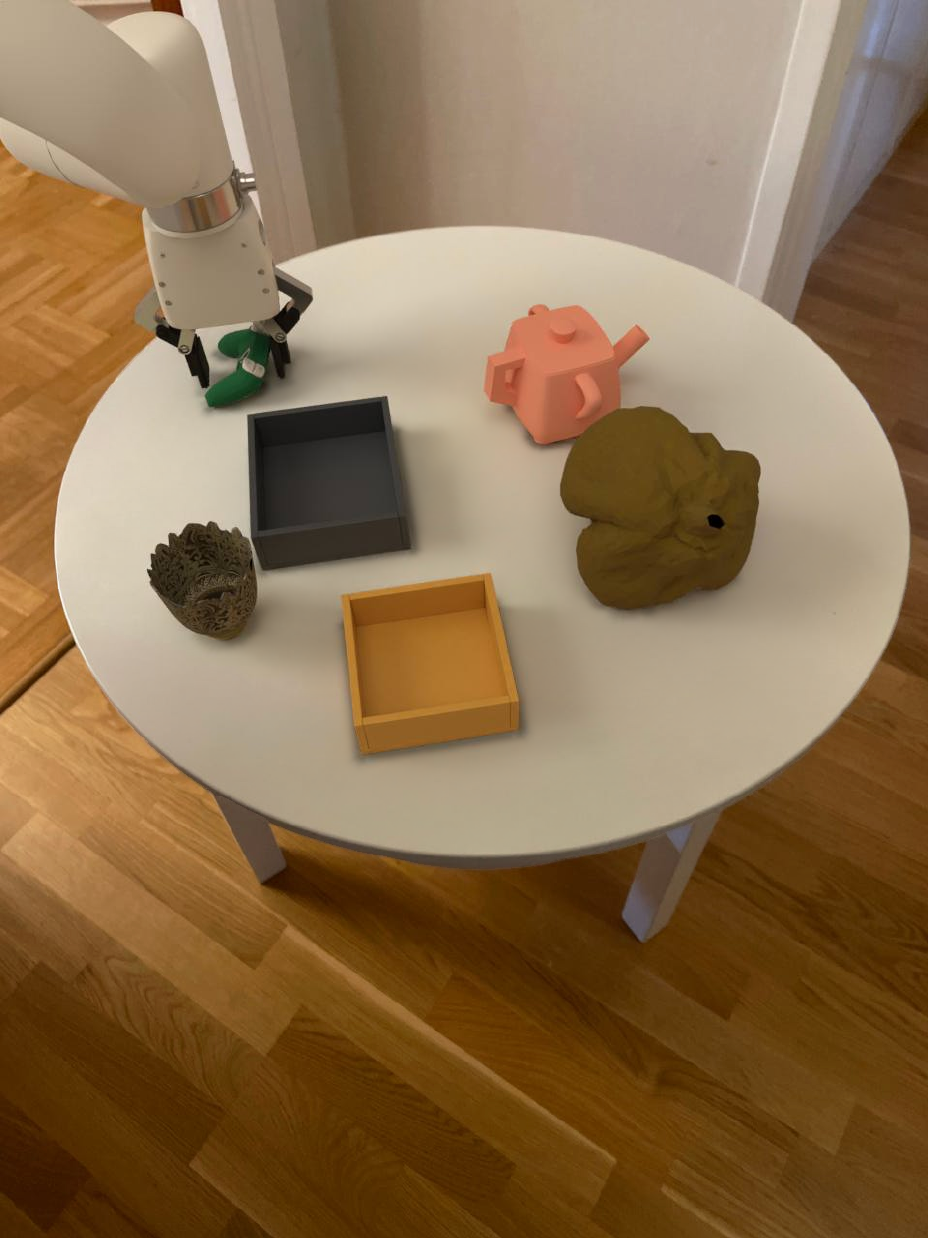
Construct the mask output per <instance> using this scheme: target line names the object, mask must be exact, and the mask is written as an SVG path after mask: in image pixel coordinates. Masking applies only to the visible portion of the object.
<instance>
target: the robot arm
mask: <svg viewBox="0 0 928 1238" xmlns="http://www.w3.org/2000/svg"><path fill="white" fill-rule="evenodd" d="M210 67H211V66H210V63H209V59H208V54H207V51H206V48H205V44H204V41H203V39H202V36H201V34H200V32H199V30H198V29H197V27H196V26H195V25H194V24H193V23H192V22H191V21H190V20H189V19H187V18H186V17H184V16H182V15H180V14H177V13H174V12H168V11H156V10H155V11H154V10H153V11H142V12H137V13H132V14H128V15H126V16H123V17H120V18H118V19H116V20H114V21H112V22H110V23H109V24H108V25H105V24H104V23H102V22H101V21H99V20H98V19H97V18H95V17H94V16H92V15H91V14H90V13H88V12H87V11H85V10H84V9H82V8H81V7H79V6H78V5H76V4H75V3H74V2H72V1H70V0H0V141H1V143H2V145H3V146H4V147H5V149H6V150H7V151H8V152H9V154H10V155H11V156H13V158H15V159H16V160H17V161H18V162H19V163H21V164H23V165H24V166H25V167H26V168H28V169H30V170H32V171H35V172H37V173H38V174H41V175H43V176H45V177H48V178H52V179H55V180H59V181H62V182H64V183H67V184H71V185H73V186H77V187H79V188H83V189H88V190H91V191H93V192H97V193H100V194H103V195H106V196H109V197H111V198H115V199H117V200H121V201H123V202H126V203H129V204H132V205H135V206H139V207H142V208H143V210H142V213H141V217H142V227H143V235H144V241H145V247H146V252H147V253H146V254H147V257H148V262H149V266H150V270H151V275H152V279H153V283H154V284H153V285H152V287H151V288H150V290H148V292H147V293H146V294H145V295H144V297H143V298H142V299H141V301H140V302H139V304H138V305H137V306H136V307H135V308H134V311H133V322H134V323H135V324H136V325H138V326H140V327H141V328H143V329H145V330H147V331H148V332H150V333H153V334H155V335H156V337H157V338H158V339H160V340H162V341H164V342H166V343H167V344H169V345H171V346H173V347H174V348H177V352H178V353H179V354H180V355H183V356H184V358H185V361H186V364H187V367H188V370H189V372H190V375H191V377H197V379H198V381H199V385H200V386H201V387H200V388H201V389H202V390H203V389H208V388H209V387H211V386H210V383H211V382H210V381H211V380H210V379H211V376H210V375H211V372H210V368H211V367H210V364H209V360H208V358H207V355H206V352H205V348H204V346H203V343H202V340H201V336H198V334H197V333H196V331H197V330H201V329H209V328H217V327H223V326H231V325H232V326H233V325H238V324H240V325H241V324H246V323H247V324H248V323H252V322H256V321H258V322H259V323H260V324H261V325H262V326H263V327H264V328H265V329H266V331H267V332H268V333H269V339H270V348H271V351H270V353H271V356H272V360H273V365H274V367H275V371H276V375H277V378H279V379H285V378H286V375H287V374H286V365H290V364H292V358H291V352H290V348H289V343H288V335H289V333H290V332H291V331H292V329H293V328H294V327H296V326H297V324H298V322H299V321H300V319H301V316H302V315H303V314H304V313H305V312H306V310H307V309H308V308H309V307H310V305H311V304H312V302H313V301H314V294H313V292H314V291H313V288H312V287H311V286H309V285H308V284H306V283H304V282H302V281H301V280H300V279H297V278H296V277H294V276H292V275H291V274H289V273H287V272H285V271H284V270H282V269H280V268H279V267H277V266H276V263H275V259H274V256H273V253H272V248H271V245H270V242H269V239H268V235H267V233H266V230H265V227H264V224H263V220H262V219H261V215H260V214H259V211H258V208H257V207H256V205H255V203H254V201H253V200H254V199H253V198H252V197H251V195H250V193H251V192H257V191H258V183H257V179H256V175H255V172H251V173H246V172H245V171H243V172H242V171H241V172H240V169H239V168H238V167H237V168H236V164H235V160H233V157H232V152H231V149H230V145H229V144H230V143H229V141H228V136H227V132H226V129H225V124H224V120H223V117H222V116H223V115H222V111H221V109H220V104H219V100H218V96H217V92H216V87H215V84H214V80H213V76H212V71H211V68H210ZM279 292H280V293H282V294H284V295H286V296H287V297H289V298H291V299H290V301H287V302H286V304H284V306H283V307H282V308H281V304H280V293H279ZM160 309H161V311H162V313H163V317H162V316H160V314H158V313H157V312H159V310H160Z"/></svg>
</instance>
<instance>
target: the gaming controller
mask: <svg viewBox="0 0 928 1238" xmlns="http://www.w3.org/2000/svg"><path fill="white" fill-rule="evenodd" d="M251 323H252V324H251V325H250V326H249V327H248V328H244V329H239V330H234V331H230V332H228V333H226V334H224V335H223V336H222V337H221V338H220V339H219V341H218V343H217V349H218V351H219V352H220V353H221V354H222V355H224V356H226V357H230V358H231V357H233V358H236V357H237V358H238V359H237V363H236V368H235V370H234V371H233V372H232V373H230V374H229V375H227V376H226V377H224V378H222V379H220V380H219V381H217V382H216V383H214V384H213V385H212V386H210V388H209V389H208V390H206V392H205V394H204V399H205V401H206V403H207V406H208V408H217V407H223V406H228V405H231V404H234V403H237V402H239V401H241V400H244V399H246V398H247V397H249V396H251V395H253V394H254V393H255V392H256V393H258V392H259V391H260V388H261V385H262V384H263V383H264V382H265V378H266V375H267V372H268V365H269V360H270V355H271V348H270V339H269V333H268V332H267V331H266V329H265V328H264V327H263V326H262V325H261V324H260V323H259V322H258V321H256V322H251Z"/></svg>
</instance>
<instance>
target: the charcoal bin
mask: <svg viewBox="0 0 928 1238" xmlns="http://www.w3.org/2000/svg"><path fill="white" fill-rule="evenodd" d="M246 422H247V424H246V426H247V456H248V458H247V460H248V488H249V489H248V491H249V492H248V493H249V496H248V497H249V525H250V526H249V529H250V540H251V542H252V546H253V549H254V551H255V554H256V557H257V560H258V563H259V566H260V569H261V571H268V570H274V569H282V568H289V567H295V566H302V565H309V564H315V563H322V562H331V561H337V560H343V559H351V558H359V557H365V556H369V555H370V556H371V555H378V554H379V555H380V554H386V553H392V552H399V551H406V550H411V549H412V546H411V538H410V531H409V530H410V529H409V522H408V516H407V510H406V503H405V497H404V490H403V485H402V477H401V472H400V465H399V459H398V453H397V448H396V447H397V446H396V440H395V435H394V427H393V423H392V422H393V421H392V416H391V409H390V403H389V397H388V396H387V395H382V396H374V397H366V398H359V399H353V400H344V401H337V402H330V403H321V404H314V405H308V406H301V407H293V408H285V409H278V410H269V411H262V412H256V413H248V414H247V415H246Z"/></svg>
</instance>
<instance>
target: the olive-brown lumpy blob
mask: <svg viewBox="0 0 928 1238" xmlns="http://www.w3.org/2000/svg"><path fill="white" fill-rule="evenodd" d="M761 474H762V467H761V464H760V461H759V459H758V458H757V457H756V456H755V455H754V454H753V453H750V452H749V451H746V450H745V451H744V450H737V449H725V448H724V447H723V446H722V444H721V443H720V441H719V439H718V438H717V437H716V436H715V435H714V434H713V433H712V432H690V430H689V429H688V427H687V426H686V425H684V424H683V423H682V422H681V421H680V420H679V419H678V418H677V416H675V415H674V414H671V413H669V412H667V411H666V410H664V409H662V408H661V407H660V406H646V405H645V406H644V405H640V406H635V407H633V408H632V407H631V408H629V407H628V408H627V407H625V408H623V407H620V408H618V409H616V410H614V411H612V412H610V413H608V414H607V415H605V416H604V417H602V418H601V419H599V420H598V421H596V422H595V423H593V424H592V425H590V426H589V427H588V428H587V429H586V430H585V431H584V432H583V433H582V434H581V435H579V436H578V437H577V439H576V440H575V441H574V442H573V445H572V446H571V448H570V450H569V452H568V455H567V457H566V460H565V463H564V467H563V471H562V475H561V479H560V483H559V496H560V499H561V502H562V504H563V506H564V508H565V510H566V511H567V512H568V513H569V514H571V515H574V516H575V517H576V516H577V517H580V518H583V519H587V520H590V523H589V524H588V526H586V527H585V528H582V529H581V531H580V534H579V535H578V537H577V542H576V546H575V547H576V548H575V554H576V563H577V569H578V573H579V576H580V577H581V580H582V581H583V583H584V585H585V586H586V587H587V589H588V590H589V591H590V593H591V594H592V595H593V596H594V597H595V598H596V599H597V601H599V603H600V604H601V605H604V606H605V607H609V608H614V609H618V610H626V611H627V610H628V611H629V610H638V609H644V608H645V609H646V608H651V607H655V606H660V605H661V606H662V605H666V604H670V603H673V602H675V601H677V600H678V599H681V598H683V597H685V596H687V595H689V594H690V593H692V592H693V591H695V590H698V589H700V590H703V591H717V590H720V589H722V588H725V587H726V586H727V585H728V584H730V583H731V582H732V581H734V580H735V579H736V578H737V576H738V575H739V574H740V572H741V571H742V570H743V568H744V566H745V565H746V562H747V560H748V557H749V555H750V553H751V549H752V545H753V541H754V536H755V530H756V525H757V515H758V512H759V510H758V509H759V506H760V500H759V499H760V498H759V494H760V489H759V483H760V478H761V476H762V475H761Z"/></svg>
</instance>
